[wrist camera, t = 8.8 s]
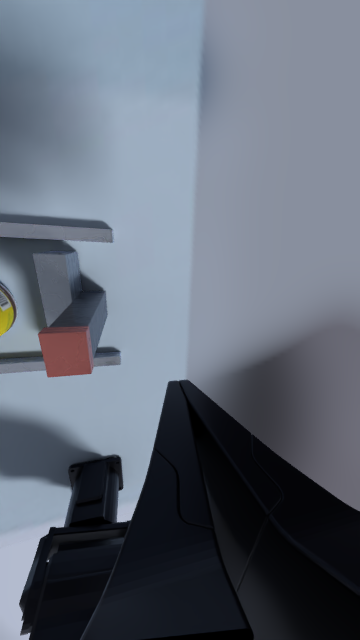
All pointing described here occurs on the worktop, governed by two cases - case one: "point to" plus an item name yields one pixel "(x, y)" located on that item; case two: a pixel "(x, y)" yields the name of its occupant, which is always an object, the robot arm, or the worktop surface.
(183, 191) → the worktop surface
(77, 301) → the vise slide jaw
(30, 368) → the frame
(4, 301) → the supplement bottle
